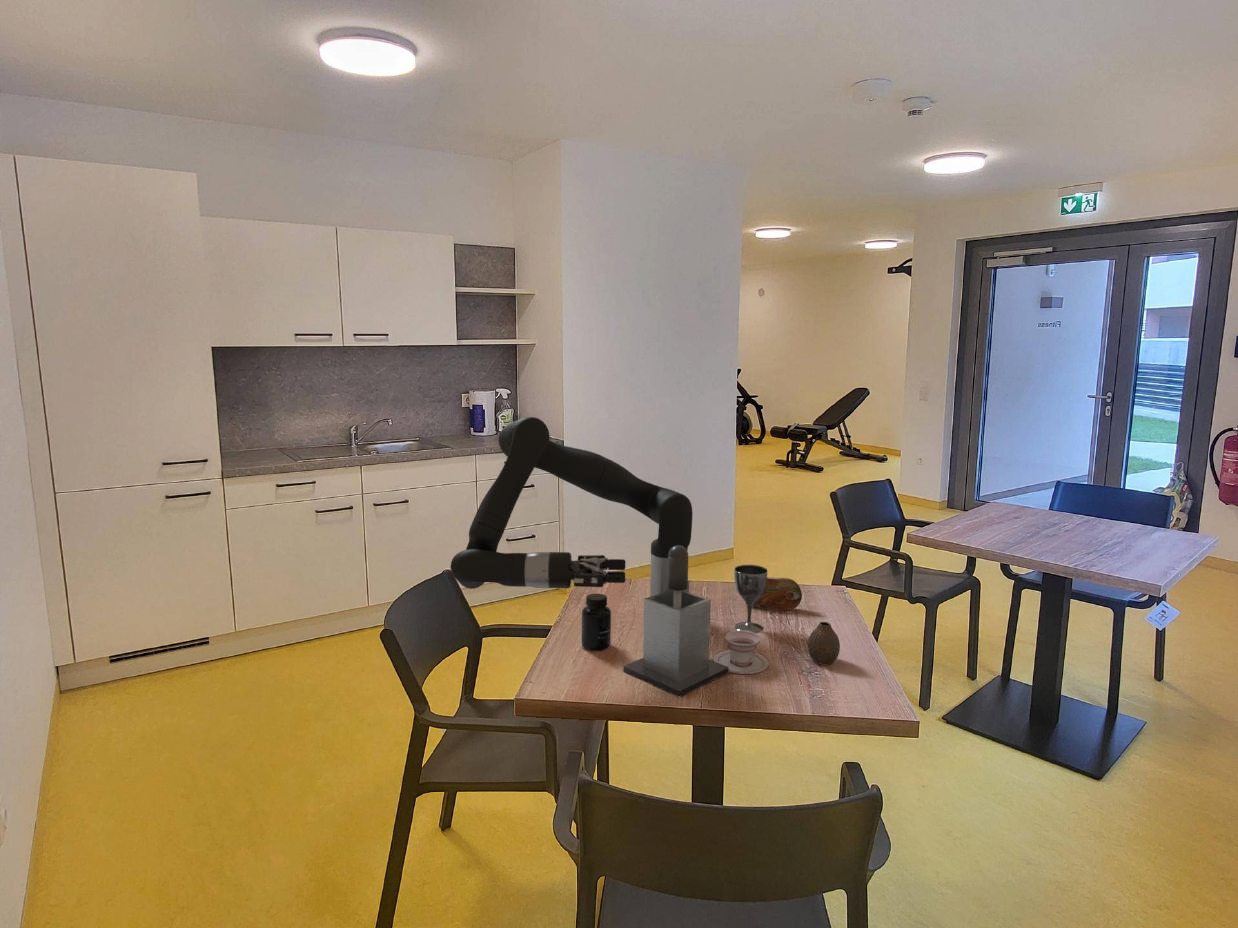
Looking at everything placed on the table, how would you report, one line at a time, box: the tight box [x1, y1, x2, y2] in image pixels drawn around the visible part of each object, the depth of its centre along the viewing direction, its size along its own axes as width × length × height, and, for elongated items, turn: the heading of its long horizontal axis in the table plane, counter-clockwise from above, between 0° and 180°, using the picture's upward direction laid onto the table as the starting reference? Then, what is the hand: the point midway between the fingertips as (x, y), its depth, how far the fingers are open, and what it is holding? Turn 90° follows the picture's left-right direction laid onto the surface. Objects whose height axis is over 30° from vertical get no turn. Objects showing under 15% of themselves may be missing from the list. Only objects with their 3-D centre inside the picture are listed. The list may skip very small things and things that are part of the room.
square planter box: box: [622, 590, 730, 697], centre depth 161 cm, size 16×16×16 cm
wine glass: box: [733, 564, 768, 634], centre depth 186 cm, size 8×8×15 cm
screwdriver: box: [668, 545, 689, 609], centre depth 160 cm, size 8×8×25 cm
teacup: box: [713, 629, 769, 675], centre depth 166 cm, size 12×12×6 cm
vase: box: [807, 621, 841, 665], centre depth 167 cm, size 7×7×9 cm
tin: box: [752, 576, 803, 612], centre depth 200 cm, size 15×3×8 cm, turn 77°
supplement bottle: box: [580, 593, 612, 652], centre depth 175 cm, size 7×7×12 cm
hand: (625, 570), depth 158 cm, fingers open, 8 cm apart
